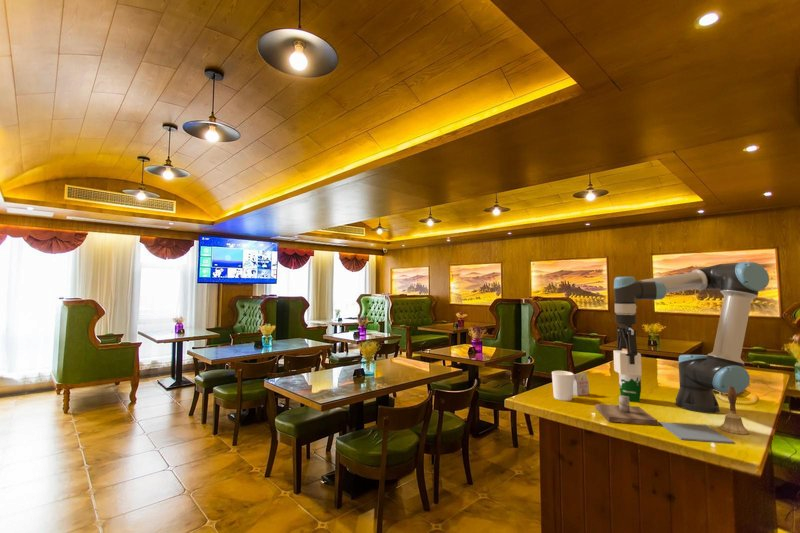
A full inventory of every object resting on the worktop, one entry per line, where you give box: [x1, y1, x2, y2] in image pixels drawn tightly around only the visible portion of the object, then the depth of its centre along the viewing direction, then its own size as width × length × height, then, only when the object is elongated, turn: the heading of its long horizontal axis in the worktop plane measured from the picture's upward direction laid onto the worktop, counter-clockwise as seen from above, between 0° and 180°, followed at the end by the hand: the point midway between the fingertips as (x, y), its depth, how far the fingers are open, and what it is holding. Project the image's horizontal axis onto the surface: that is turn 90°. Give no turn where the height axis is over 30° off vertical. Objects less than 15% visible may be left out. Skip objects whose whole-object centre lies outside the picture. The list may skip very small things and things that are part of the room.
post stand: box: [595, 394, 659, 426], centre depth 153 cm, size 17×17×8 cm
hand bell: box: [719, 386, 750, 436], centre depth 139 cm, size 8×8×16 cm
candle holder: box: [551, 370, 574, 402], centre depth 179 cm, size 10×10×12 cm
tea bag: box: [573, 373, 590, 397], centre depth 185 cm, size 4×7×10 cm, turn 105°
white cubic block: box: [612, 348, 643, 376], centre depth 153 cm, size 8×8×9 cm
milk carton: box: [618, 373, 642, 403], centre depth 178 cm, size 9×9×20 cm
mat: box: [658, 421, 735, 445], centre depth 136 cm, size 16×16×1 cm
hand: (627, 370), depth 153 cm, fingers closed on white cubic block, 8 cm apart
